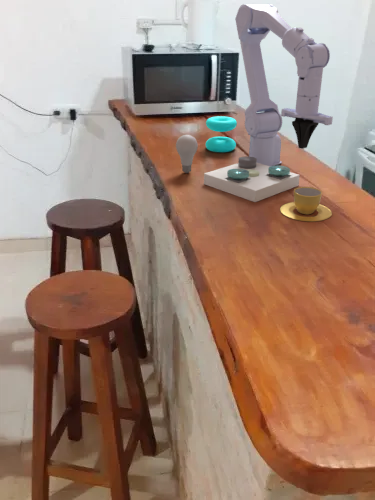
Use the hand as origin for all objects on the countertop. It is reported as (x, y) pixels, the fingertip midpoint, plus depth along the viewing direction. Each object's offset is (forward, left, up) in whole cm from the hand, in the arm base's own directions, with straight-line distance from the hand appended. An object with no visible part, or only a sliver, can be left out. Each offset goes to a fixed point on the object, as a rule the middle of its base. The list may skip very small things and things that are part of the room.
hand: (302, 147), depth 136 cm
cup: (+17, +14, -10) cm, 24 cm away
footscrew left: (+8, -2, -10) cm, 12 cm away
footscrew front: (+18, -7, -10) cm, 21 cm away
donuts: (-7, -37, -10) cm, 39 cm away
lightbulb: (+18, -26, -10) cm, 33 cm away
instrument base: (+12, -7, -9) cm, 17 cm away
